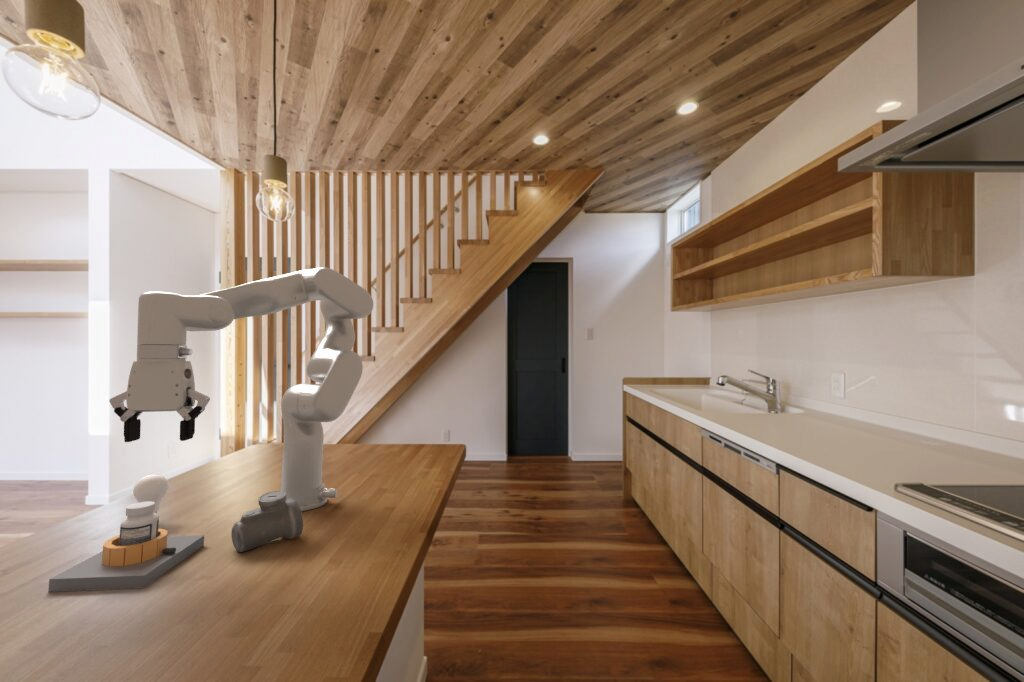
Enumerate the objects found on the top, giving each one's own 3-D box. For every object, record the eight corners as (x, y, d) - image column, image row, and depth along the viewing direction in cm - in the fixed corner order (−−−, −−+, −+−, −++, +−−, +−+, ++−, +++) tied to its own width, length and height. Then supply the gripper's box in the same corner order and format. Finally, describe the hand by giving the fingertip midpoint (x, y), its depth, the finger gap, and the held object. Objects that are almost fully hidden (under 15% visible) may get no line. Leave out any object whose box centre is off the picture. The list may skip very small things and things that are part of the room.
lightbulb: (145, 529, 91) (148, 479, 92) (123, 527, 92) (126, 477, 93) (173, 519, 97) (176, 472, 98) (152, 517, 98) (155, 470, 99)
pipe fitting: (292, 526, 93) (290, 482, 92) (306, 540, 88) (304, 494, 87) (229, 549, 85) (226, 501, 84) (240, 566, 79) (237, 515, 78)
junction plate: (203, 545, 84) (205, 520, 84) (143, 587, 68) (145, 556, 69) (127, 547, 83) (129, 522, 83) (48, 591, 67) (50, 560, 67)
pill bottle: (134, 548, 78) (137, 500, 79) (164, 547, 79) (167, 499, 79) (109, 561, 73) (113, 509, 73) (141, 560, 73) (144, 509, 74)
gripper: (219, 354, 88) (217, 435, 88) (127, 354, 85) (125, 437, 85) (198, 354, 81) (196, 443, 80) (97, 354, 78) (94, 445, 78)
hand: (159, 440), depth 83 cm, fingers open, 9 cm apart
